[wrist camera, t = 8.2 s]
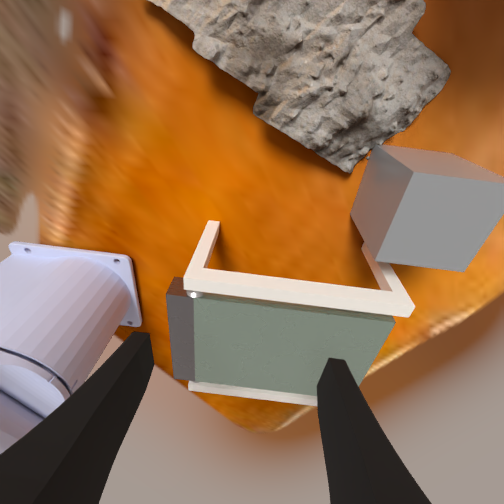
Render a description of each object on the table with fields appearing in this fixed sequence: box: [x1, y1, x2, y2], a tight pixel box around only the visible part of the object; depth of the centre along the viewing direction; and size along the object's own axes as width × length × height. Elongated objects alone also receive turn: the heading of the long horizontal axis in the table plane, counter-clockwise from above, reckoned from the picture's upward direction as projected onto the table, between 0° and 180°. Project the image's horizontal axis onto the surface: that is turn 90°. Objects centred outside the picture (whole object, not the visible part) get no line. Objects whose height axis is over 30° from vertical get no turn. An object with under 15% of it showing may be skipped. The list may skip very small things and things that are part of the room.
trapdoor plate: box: [166, 277, 396, 396], centre depth 18 cm, size 12×8×2 cm
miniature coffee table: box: [183, 220, 415, 406], centre depth 20 cm, size 12×11×6 cm
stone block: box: [350, 144, 504, 272], centre depth 15 cm, size 5×5×6 cm
